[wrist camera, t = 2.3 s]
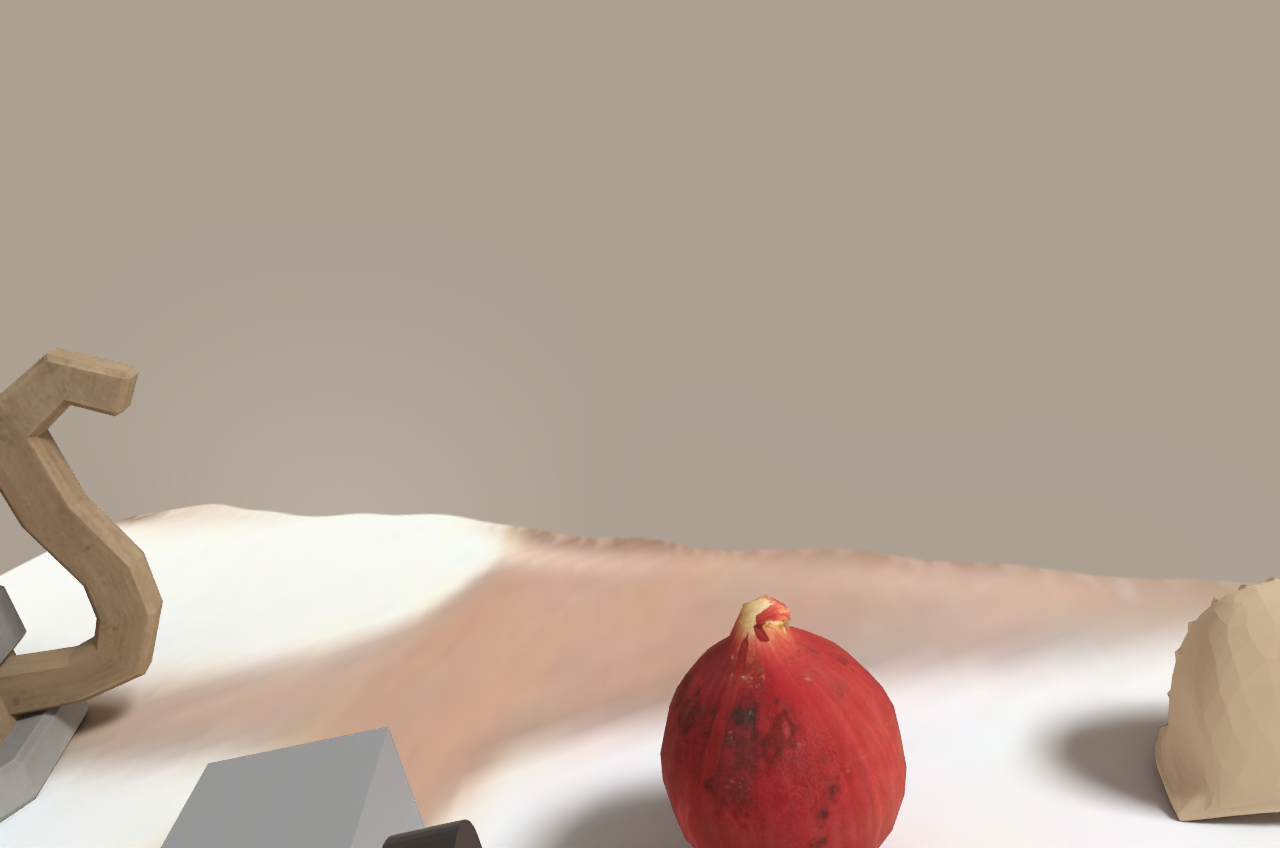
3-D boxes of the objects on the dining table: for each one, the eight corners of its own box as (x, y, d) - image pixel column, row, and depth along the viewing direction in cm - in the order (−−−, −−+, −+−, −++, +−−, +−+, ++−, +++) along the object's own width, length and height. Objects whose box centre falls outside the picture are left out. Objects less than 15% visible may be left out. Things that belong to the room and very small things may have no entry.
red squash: (882, 1011, 20) (834, 710, 17) (652, 933, 23) (581, 665, 20) (942, 815, 25) (913, 552, 22) (744, 771, 28) (696, 535, 25)
